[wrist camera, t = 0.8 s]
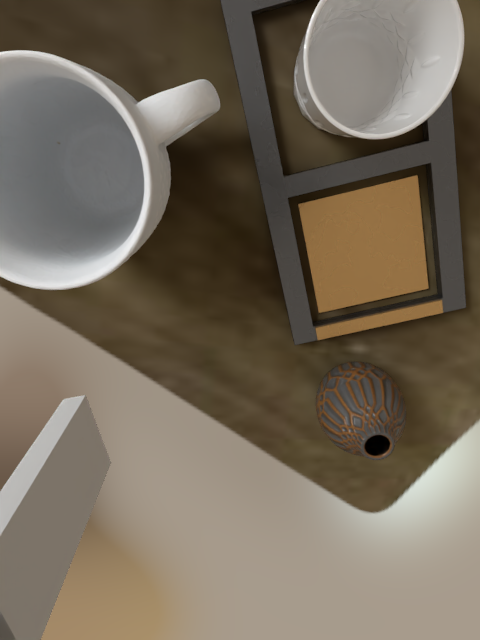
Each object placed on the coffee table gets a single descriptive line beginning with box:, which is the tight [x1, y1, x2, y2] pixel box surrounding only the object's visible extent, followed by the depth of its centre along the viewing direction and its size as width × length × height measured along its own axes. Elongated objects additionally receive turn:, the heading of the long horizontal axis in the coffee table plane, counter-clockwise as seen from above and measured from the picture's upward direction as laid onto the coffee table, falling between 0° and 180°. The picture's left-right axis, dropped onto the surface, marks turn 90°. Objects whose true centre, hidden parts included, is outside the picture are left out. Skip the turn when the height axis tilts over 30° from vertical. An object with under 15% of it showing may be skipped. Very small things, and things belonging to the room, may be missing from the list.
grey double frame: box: [220, 0, 466, 345], centre depth 33 cm, size 25×14×1 cm, turn 14°
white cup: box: [294, 0, 464, 139], centre depth 27 cm, size 8×8×10 cm
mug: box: [0, 50, 220, 290], centre depth 27 cm, size 15×11×13 cm
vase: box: [316, 362, 406, 460], centre depth 36 cm, size 7×7×9 cm
